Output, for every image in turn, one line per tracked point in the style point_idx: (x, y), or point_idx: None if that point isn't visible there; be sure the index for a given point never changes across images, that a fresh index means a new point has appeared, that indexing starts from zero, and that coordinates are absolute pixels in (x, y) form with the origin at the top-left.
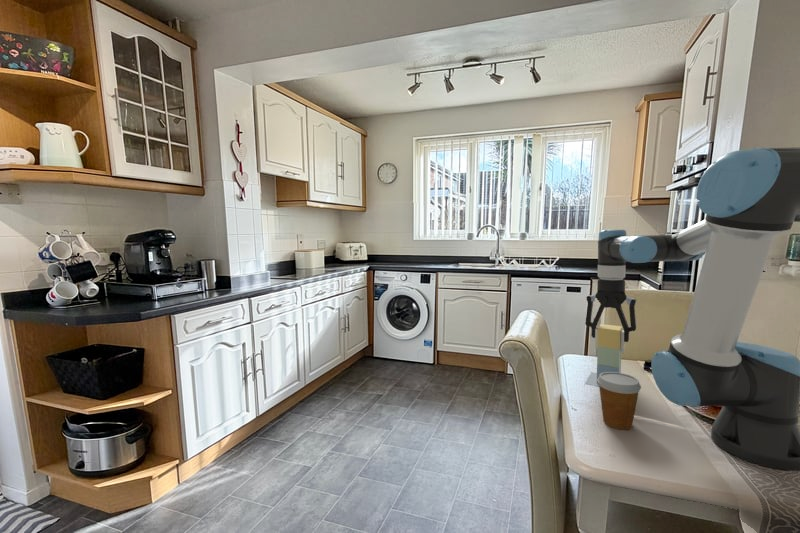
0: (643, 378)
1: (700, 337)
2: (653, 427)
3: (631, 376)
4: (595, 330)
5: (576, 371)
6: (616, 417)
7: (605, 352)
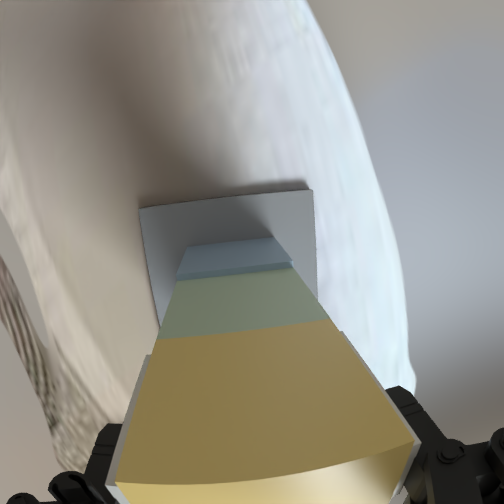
0: None
1: None
2: (58, 20)
3: None
4: (410, 430)
5: (366, 329)
6: None
7: (260, 307)
